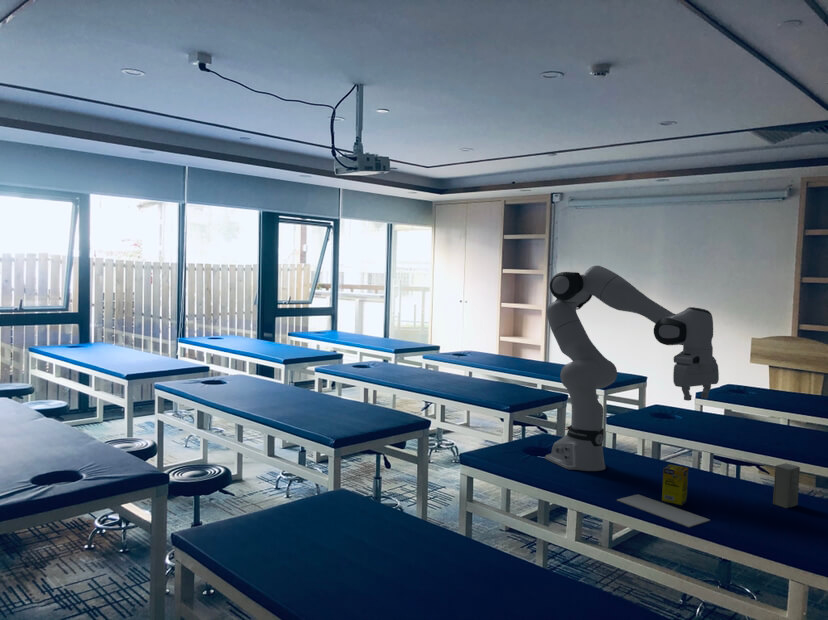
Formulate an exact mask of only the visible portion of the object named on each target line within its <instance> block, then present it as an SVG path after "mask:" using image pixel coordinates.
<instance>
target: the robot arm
mask: <svg viewBox="0 0 828 620" xmlns="http://www.w3.org/2000/svg"><path fill="white" fill-rule="evenodd" d="M549 290H550V293H551V294H552V296H553V297H554V298H556V299H555V300H554V301H553V302H551V303H550V304H549V305H548V306H547V308H546V317H547V320H548V324H549V327H550V330H551V332H552V334H553V336H554V339H555V341H556V342H557V345H558V347H559V349H560V351H561V353H562V354H563V355H565V356H566V357H568V358H569V359H570V360H571V362H569V363H568V362H567V363H566V364H565V365H563V366H562V368H561V370H560V375H559V376H560V381H561V383H562V385H563V386H564V387H565V389H566V390H567V392H568V394H569V399H570V402H571V405H570V406H571V424H570V425H569V426H565V427H564V428H565V429H564V430H565V431H567V433H566V435H564V436H563V437H561V438H559V439H558V440H557V441H555V442H554V443H553V445H552V447H551V448H552V449H551V453H548V454H546V455H545V456H544V459H545V460H547V461H549V462H551V463H553V464H556V465H558V466H559V467H562V468H564V469H566V470H570V471H571V470H572V471H575V470H576V471H582V472H583V471H584V472H599V471H604V470H605V469H607V468H606V463H605V458H604V448H603V442H604V435H605V432H604V431H605V428H603V426H604V407H603V405H602V403H600V401H599V398H598V395H597V390H598V389H604V388H606V387H608V386H610V385H612V384H613V383H615V381H616V380H617V377H618V370H617V367H616V366H615V363H613V362H612V361H611V360H609V359H608V358H606V357H605V356H604V355H603V354H602V353H601V352H600V350H599V349H598V348H597V347H596V346H595V344H594V343H593V342H592V340H591V339H590V337H589V335H588V333H587V331H586V329H585V328H584V326H583V324H582V321H581V319H580V318H579V315H578V314H577V310H580V309H581V308H582V307H584V305H585V304H587V303H588V302H590V300H591V299H592V298H593V297H595V298H596V299H598V300H599V301H600V302H602V303H603V304H605V305H607V306H608V307H609V308H612V309H615V310H617V311H621V312H626V313H627V312H628V313H633V314H637V315H640V316H642V317H644V318H646V319H647V320H649V321H650V322H652V323H654V326H653V336H654V338H655V339H656V341H657V342H658V343H660V344H662V345H665V346H678V345H679V346H683V347H682V351H680V352H679V353H678V354H675V355H674V357H673V363H675V364H674V365H673V375H672V376H673V377H672V378H673V380H672V381H673V384H674V386H675V387H678V388H681V391H682V393H683V401H692V397H693V396H692V394H691V393H690V391H691V387H692V388H693V387H702V392H700V398H701V399H709V393H710V392H711V389H712V385H718V383H719V380H720V378H719V377H720V376H719V375H720V373H719V372H720V371H719V365H718V363H717V359H716V358H715V356H713V354H714V353H713V352H714V350H713V349H714V348H713V343H712V340H713V338H714V320H713V315H712V312H711V311H709V310H708V309H705V308H700V307H695V306H694V307H692V306H689V307H687V308H686V309H684V310H683V311H681V312H678V313H673V312H672V311H671V310H668V309H667V308H665V307H663V305H661V304H658V303H657V302H655V301H654V300H653V299H651V298H650V297H648V296H647V295H645V293H643V292H642V291H640V290H639V289H637V288H636V287H635V286H634V285H633V284H631V282H628V281H627V280H626V279H625V278H623V277H622V276H621V275H619V274H618V273H616V272H614V271H613V270H610V269H608V268H606V267H603V266H601V265H593V266H591V267H590V268H588V269H587V270H586V271H585V273H583V274H581V273H580V272H576V271H575V272H574V271H563V272H558V273H556V274H555V275H553V276H552V278H551V280H550V282H549Z"/></svg>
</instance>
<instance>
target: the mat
mask: <svg viewBox="0 0 828 620" xmlns="http://www.w3.org/2000/svg"><path fill="white" fill-rule="evenodd" d="M616 502H619V503H621V504H622V503H623V504H625V505H628V506H630V507H632V508H636V509H638V510H641V511H644V512H647V513H649V514H651V515H654V516H657V517H661V518H662V519H666V520H667V521H671V522H673V523H675V524H677V525H681V526H684V527H687V528H692V527H695V526H698V525H701V524H705V523H707V522H710V521H711V519H709V518H706V517H704V516H700V515H698V514H695V513H693V512H689V511H686V510H683V509H681V508H679V507H676V506H673V505H668V504H664V503H662V501H658V500H656V499H652V498H651V497H650V498H649V497H646V496H644V495H641V494H638V493H637V494H633V495H630V496H629V495H628V496H626V497H621V498H618V499H616Z"/></svg>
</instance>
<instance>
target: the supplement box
mask: <svg viewBox="0 0 828 620" xmlns="http://www.w3.org/2000/svg"><path fill="white" fill-rule="evenodd" d="M662 473H663V474H662V489H661V490H662V492H661V503H664V504H667V505H670V506H673V507H676V508H682V507H683V506H684V505H685V504H687V498H688V483H689V482H688V480H689V477H688V476H689V467H686V466H685V467H684V466H681V465H675V464H670V463H669V464H668V465H666V466H665V467H663V472H662Z"/></svg>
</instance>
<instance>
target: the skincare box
mask: <svg viewBox="0 0 828 620" xmlns="http://www.w3.org/2000/svg"><path fill="white" fill-rule="evenodd" d="M800 471H801V467H800V466H798V465H795V464H794V465H793V464H792V463H791V464H790V463H781V464H778V465H777V464H776V465H775V467H774V481H773V483H774V484H773V493H772V494H773V495H772V496H773V497H772V498H773V499H772V504H773V505H776V506H778V507H782V508H784V509H789V507H790V508H792V507H795V506H798V502H799V490H800V489H799V485H800Z"/></svg>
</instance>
